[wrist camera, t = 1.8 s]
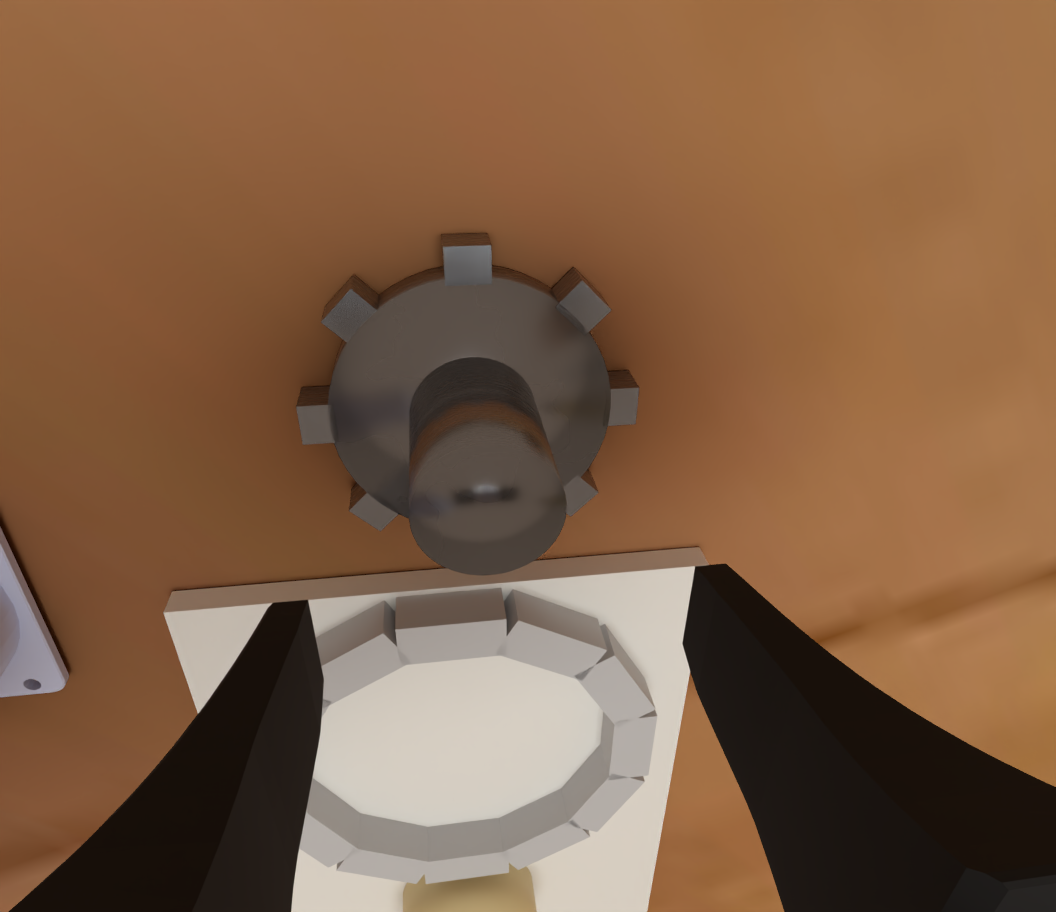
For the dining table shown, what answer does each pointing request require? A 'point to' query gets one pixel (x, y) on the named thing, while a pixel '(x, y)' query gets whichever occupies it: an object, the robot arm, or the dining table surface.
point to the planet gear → (469, 405)
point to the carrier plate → (478, 729)
